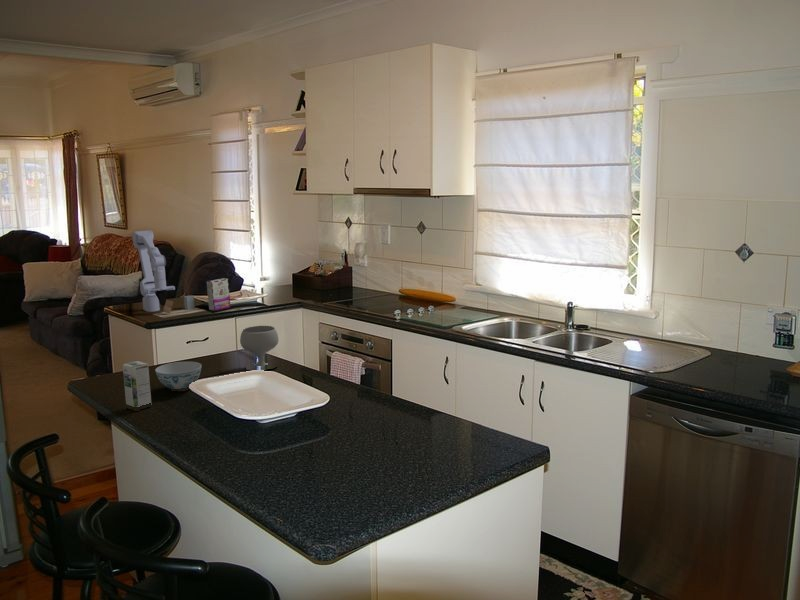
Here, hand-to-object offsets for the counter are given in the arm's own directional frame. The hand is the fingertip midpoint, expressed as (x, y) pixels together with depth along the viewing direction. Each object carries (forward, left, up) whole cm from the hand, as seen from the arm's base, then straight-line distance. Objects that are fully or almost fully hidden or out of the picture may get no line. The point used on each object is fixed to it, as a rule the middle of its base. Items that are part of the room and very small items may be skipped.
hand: (162, 305), depth 365 cm
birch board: (0, +9, -6) cm, 11 cm away
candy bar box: (+7, +29, -6) cm, 30 cm away
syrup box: (+137, -69, -6) cm, 154 cm away
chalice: (+126, -18, -6) cm, 127 cm away
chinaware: (+128, -51, -6) cm, 138 cm away
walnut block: (0, +1, -4) cm, 4 cm away
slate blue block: (-4, +17, -5) cm, 18 cm away
